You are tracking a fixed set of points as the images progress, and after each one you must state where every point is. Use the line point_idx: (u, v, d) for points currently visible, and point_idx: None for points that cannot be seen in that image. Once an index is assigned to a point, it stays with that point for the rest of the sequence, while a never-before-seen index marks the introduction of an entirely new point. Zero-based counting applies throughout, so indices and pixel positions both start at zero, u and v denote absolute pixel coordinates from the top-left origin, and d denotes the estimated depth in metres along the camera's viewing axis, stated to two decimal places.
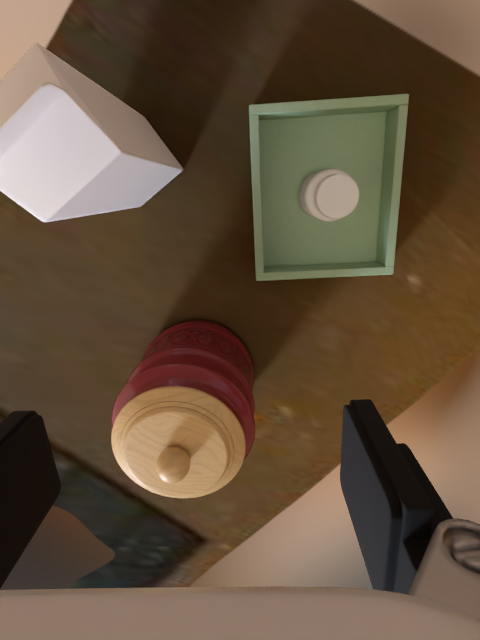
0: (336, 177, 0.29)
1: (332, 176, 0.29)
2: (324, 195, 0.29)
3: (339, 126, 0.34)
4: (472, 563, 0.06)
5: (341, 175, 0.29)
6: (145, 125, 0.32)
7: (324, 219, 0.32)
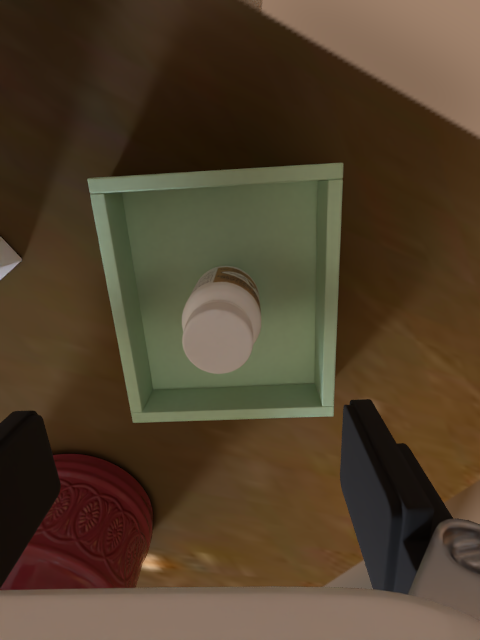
0: (211, 315, 0.17)
1: (204, 312, 0.17)
2: (194, 341, 0.17)
3: (247, 201, 0.22)
4: (473, 563, 0.06)
5: (219, 312, 0.17)
6: None
7: None
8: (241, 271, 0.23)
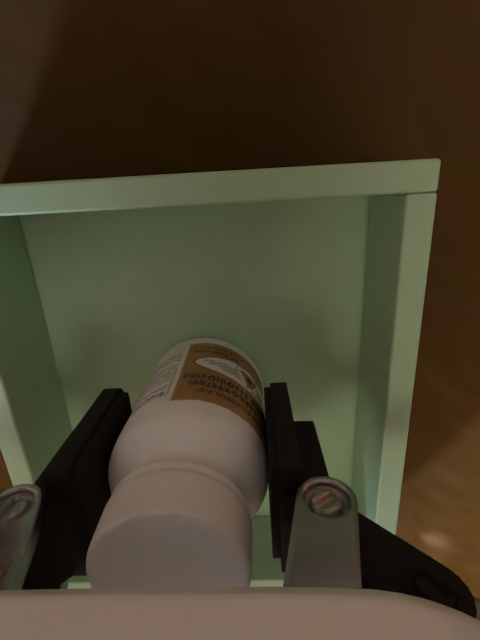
0: (149, 524, 0.07)
1: (134, 517, 0.07)
2: (114, 572, 0.07)
3: (242, 229, 0.13)
4: (328, 510, 0.07)
5: (168, 519, 0.07)
6: None
7: None
8: (232, 350, 0.13)
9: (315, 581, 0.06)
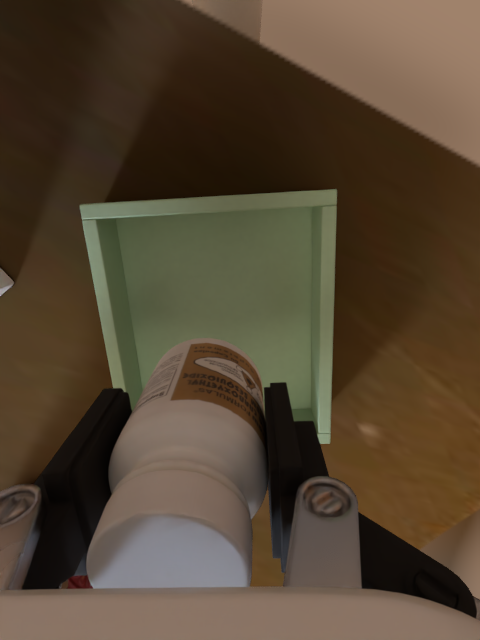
0: (150, 524, 0.07)
1: (134, 517, 0.07)
2: (114, 571, 0.07)
3: (241, 225, 0.22)
4: (328, 510, 0.07)
5: (168, 518, 0.07)
6: None
7: None
8: (232, 350, 0.13)
9: (315, 581, 0.06)
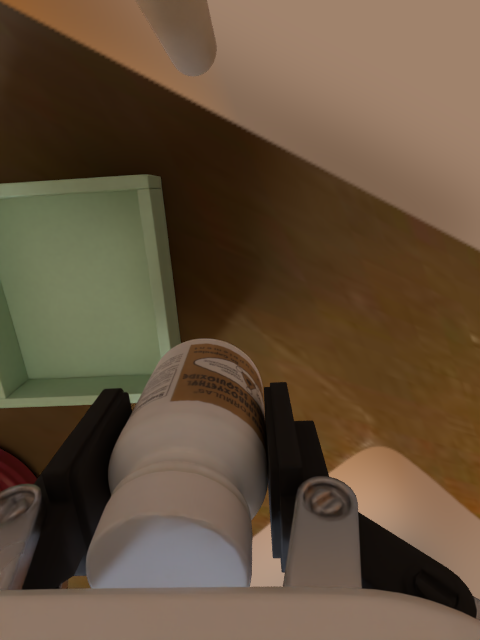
0: (149, 525, 0.07)
1: (133, 519, 0.07)
2: (114, 573, 0.07)
3: (89, 208, 0.25)
4: (328, 511, 0.07)
5: (168, 520, 0.07)
6: None
7: None
8: (231, 351, 0.13)
9: (315, 581, 0.06)
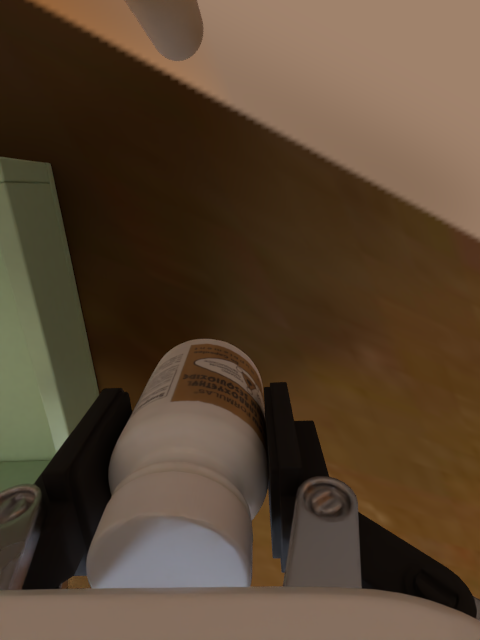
0: (149, 526, 0.07)
1: (134, 519, 0.07)
2: (114, 573, 0.07)
3: None
4: (328, 510, 0.07)
5: (168, 520, 0.07)
6: None
7: None
8: (232, 351, 0.13)
9: (315, 581, 0.06)
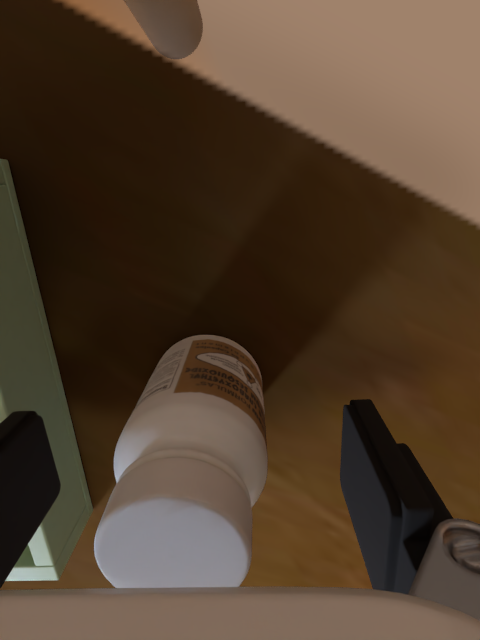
0: (155, 507, 0.07)
1: (140, 500, 0.07)
2: (121, 553, 0.08)
3: None
4: (472, 563, 0.06)
5: (173, 501, 0.07)
6: None
7: None
8: (232, 346, 0.14)
9: None
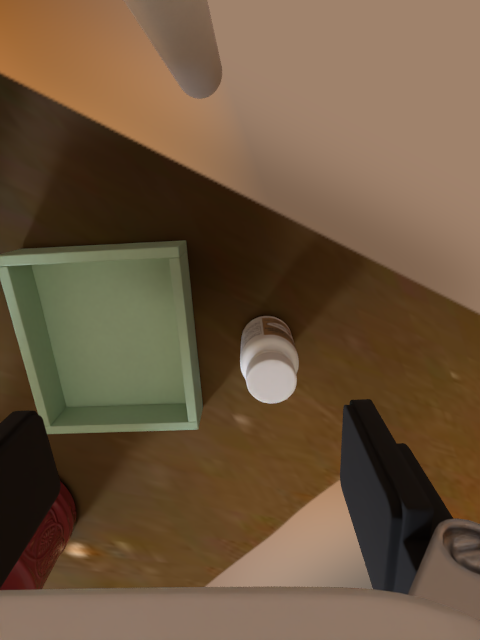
0: (268, 363, 0.24)
1: (263, 361, 0.24)
2: (255, 380, 0.25)
3: (125, 266, 0.30)
4: (472, 563, 0.06)
5: (274, 361, 0.24)
6: None
7: None
8: (279, 321, 0.30)
9: None
